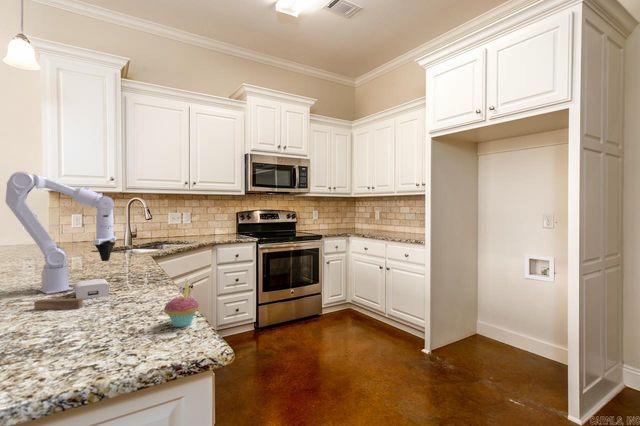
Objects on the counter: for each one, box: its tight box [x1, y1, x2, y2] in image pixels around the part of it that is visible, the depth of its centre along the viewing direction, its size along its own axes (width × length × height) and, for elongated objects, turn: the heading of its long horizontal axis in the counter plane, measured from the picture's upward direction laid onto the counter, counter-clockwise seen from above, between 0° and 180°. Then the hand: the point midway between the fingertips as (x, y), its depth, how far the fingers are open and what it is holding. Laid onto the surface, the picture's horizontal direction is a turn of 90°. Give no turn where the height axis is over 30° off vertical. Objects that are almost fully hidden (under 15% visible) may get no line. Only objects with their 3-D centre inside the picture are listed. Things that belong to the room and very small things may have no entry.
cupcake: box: [163, 280, 200, 328], centre depth 90 cm, size 9×8×12 cm
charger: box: [74, 278, 110, 300], centre depth 120 cm, size 5×9×15 cm
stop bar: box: [33, 298, 84, 311], centre depth 103 cm, size 2×12×2 cm, turn 99°
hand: (105, 260), depth 133 cm, fingers closed
